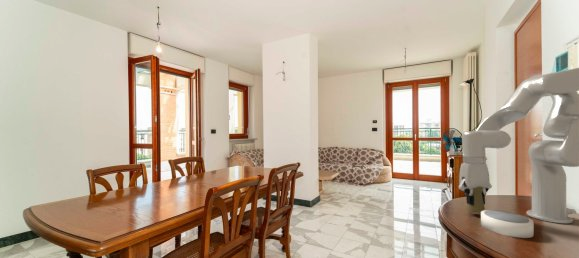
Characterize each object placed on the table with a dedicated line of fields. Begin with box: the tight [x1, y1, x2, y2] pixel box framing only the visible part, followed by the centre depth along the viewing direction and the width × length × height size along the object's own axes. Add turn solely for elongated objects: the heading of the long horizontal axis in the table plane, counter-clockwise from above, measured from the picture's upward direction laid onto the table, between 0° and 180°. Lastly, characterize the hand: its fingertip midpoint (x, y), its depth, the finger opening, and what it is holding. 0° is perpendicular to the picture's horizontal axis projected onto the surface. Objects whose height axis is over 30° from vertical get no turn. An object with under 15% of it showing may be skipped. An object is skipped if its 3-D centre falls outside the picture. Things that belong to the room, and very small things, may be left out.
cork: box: [466, 186, 486, 214], centre depth 99 cm, size 6×6×11 cm
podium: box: [480, 209, 535, 239], centre depth 86 cm, size 14×14×5 cm
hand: (475, 203), depth 99 cm, fingers closed on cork, 4 cm apart
